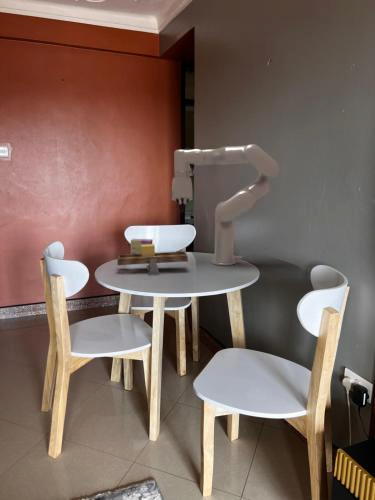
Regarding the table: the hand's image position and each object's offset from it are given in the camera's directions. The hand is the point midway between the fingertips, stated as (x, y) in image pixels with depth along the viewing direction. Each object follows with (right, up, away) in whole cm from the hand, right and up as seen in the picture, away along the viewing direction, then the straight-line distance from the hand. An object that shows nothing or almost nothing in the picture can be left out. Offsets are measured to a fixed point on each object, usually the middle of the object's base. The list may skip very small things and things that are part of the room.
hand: (182, 212), depth 192 cm
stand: (-14, -29, -13) cm, 35 cm away
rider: (-16, -23, -15) cm, 31 cm away
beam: (-14, -24, -14) cm, 31 cm away
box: (-21, -26, +5) cm, 34 cm away
